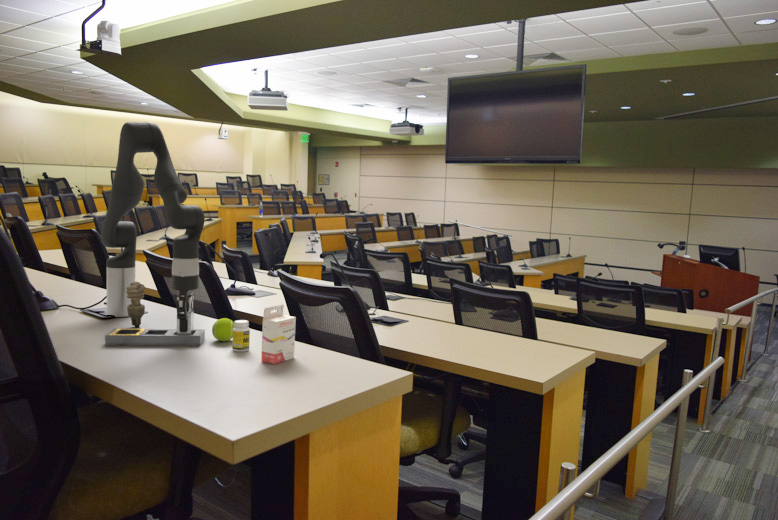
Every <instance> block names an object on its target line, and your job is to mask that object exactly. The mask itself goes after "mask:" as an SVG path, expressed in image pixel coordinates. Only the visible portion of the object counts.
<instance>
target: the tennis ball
mask: <svg viewBox="0 0 778 520" xmlns="http://www.w3.org/2000/svg"><path fill="white" fill-rule="evenodd" d="M234 322H235V321H233V320H232V319H229V318H227V317H223V318H219V319H218V320H216V321H215V322H214V323H213V325H212V328H211V332H212V335H213V337H214V338H215V339H216V340H217V341H220V342H228V341H230V340H231V339H232V340H233V328H234V327H235V326H234Z"/></svg>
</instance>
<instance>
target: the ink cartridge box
mask: <svg viewBox="0 0 778 520" xmlns="http://www.w3.org/2000/svg"><path fill="white" fill-rule="evenodd" d="M284 307H285V306H284V304H280V305H279V304H278V305H273V306H268V307H264V310H263V317H262V329H261V330H262V332H261V334H262V335H261V337H262V338H261V362H264V363H268V364H272V365H277V364H280V363H283V362H286V361H289V360H291V359H294V358H295V347H296V346H295V343H296V342H295V340H296V324H297V323H296V321H297V317H296V316H291V315H286V314H283V313H284ZM274 310H275V311H274ZM272 311H274V312H272Z"/></svg>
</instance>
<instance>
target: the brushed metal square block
mask: <svg viewBox="0 0 778 520" xmlns="http://www.w3.org/2000/svg"><path fill="white" fill-rule="evenodd" d="M194 312H195V311H194V310H193V311H190V312H188V331H187V332H180V331H179V323H180V320H179V319H177V318H176V329H177V335H193V329H194V318H195V317H194V315H195V314H194ZM181 315H184V312H181Z"/></svg>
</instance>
